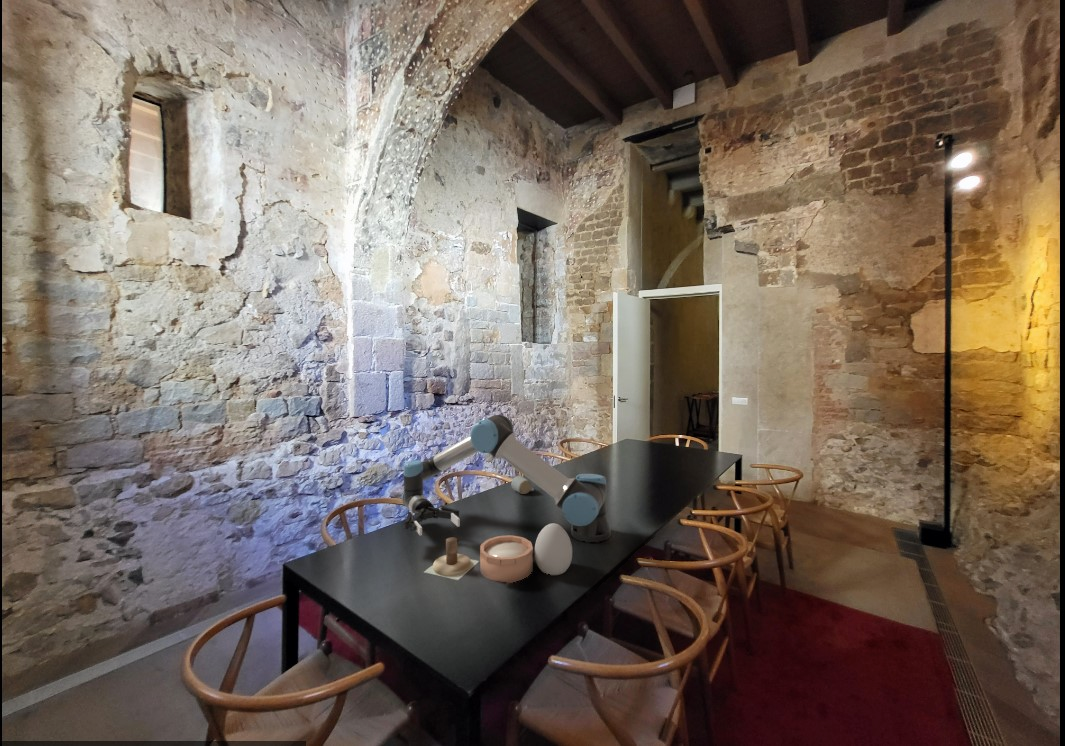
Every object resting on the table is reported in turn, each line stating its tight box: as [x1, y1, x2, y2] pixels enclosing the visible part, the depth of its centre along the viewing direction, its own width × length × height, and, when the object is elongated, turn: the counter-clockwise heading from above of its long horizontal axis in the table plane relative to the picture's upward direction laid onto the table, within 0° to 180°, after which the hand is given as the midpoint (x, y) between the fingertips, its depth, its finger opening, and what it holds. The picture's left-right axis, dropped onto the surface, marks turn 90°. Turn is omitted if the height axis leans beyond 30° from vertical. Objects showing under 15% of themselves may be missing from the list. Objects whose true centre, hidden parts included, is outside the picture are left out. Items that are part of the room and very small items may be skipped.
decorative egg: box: [534, 522, 573, 576], centre depth 143 cm, size 12×12×15 cm
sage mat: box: [423, 558, 480, 581], centre depth 145 cm, size 13×13×1 cm
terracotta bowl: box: [479, 534, 534, 584], centre depth 144 cm, size 17×17×8 cm
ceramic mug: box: [510, 475, 535, 495], centre depth 220 cm, size 11×8×8 cm
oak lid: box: [432, 536, 471, 576], centre depth 145 cm, size 12×12×9 cm
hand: (440, 527), depth 153 cm, fingers open, 13 cm apart
